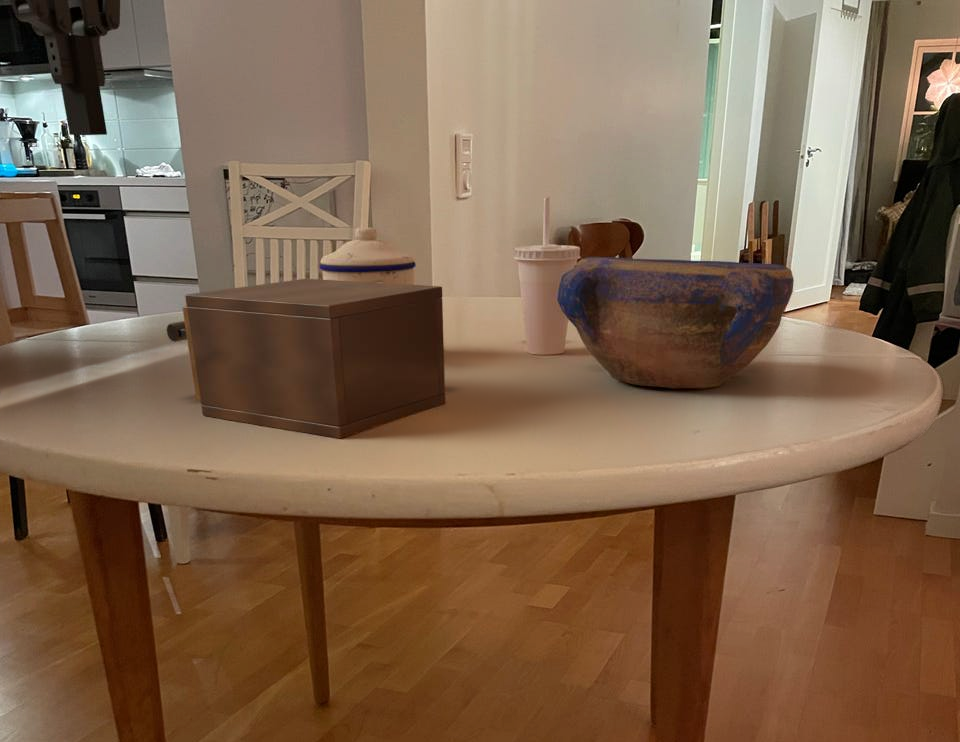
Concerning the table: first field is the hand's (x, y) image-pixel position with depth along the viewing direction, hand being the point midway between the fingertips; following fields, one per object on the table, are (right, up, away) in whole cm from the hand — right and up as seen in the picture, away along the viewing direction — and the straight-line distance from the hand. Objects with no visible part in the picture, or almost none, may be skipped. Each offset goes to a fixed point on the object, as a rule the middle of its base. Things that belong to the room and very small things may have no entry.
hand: (88, 134), depth 73 cm
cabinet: (+19, -22, -2) cm, 30 cm away
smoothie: (+38, -11, +20) cm, 44 cm away
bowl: (+48, -18, +7) cm, 51 cm away
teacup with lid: (+21, -13, +17) cm, 30 cm away
